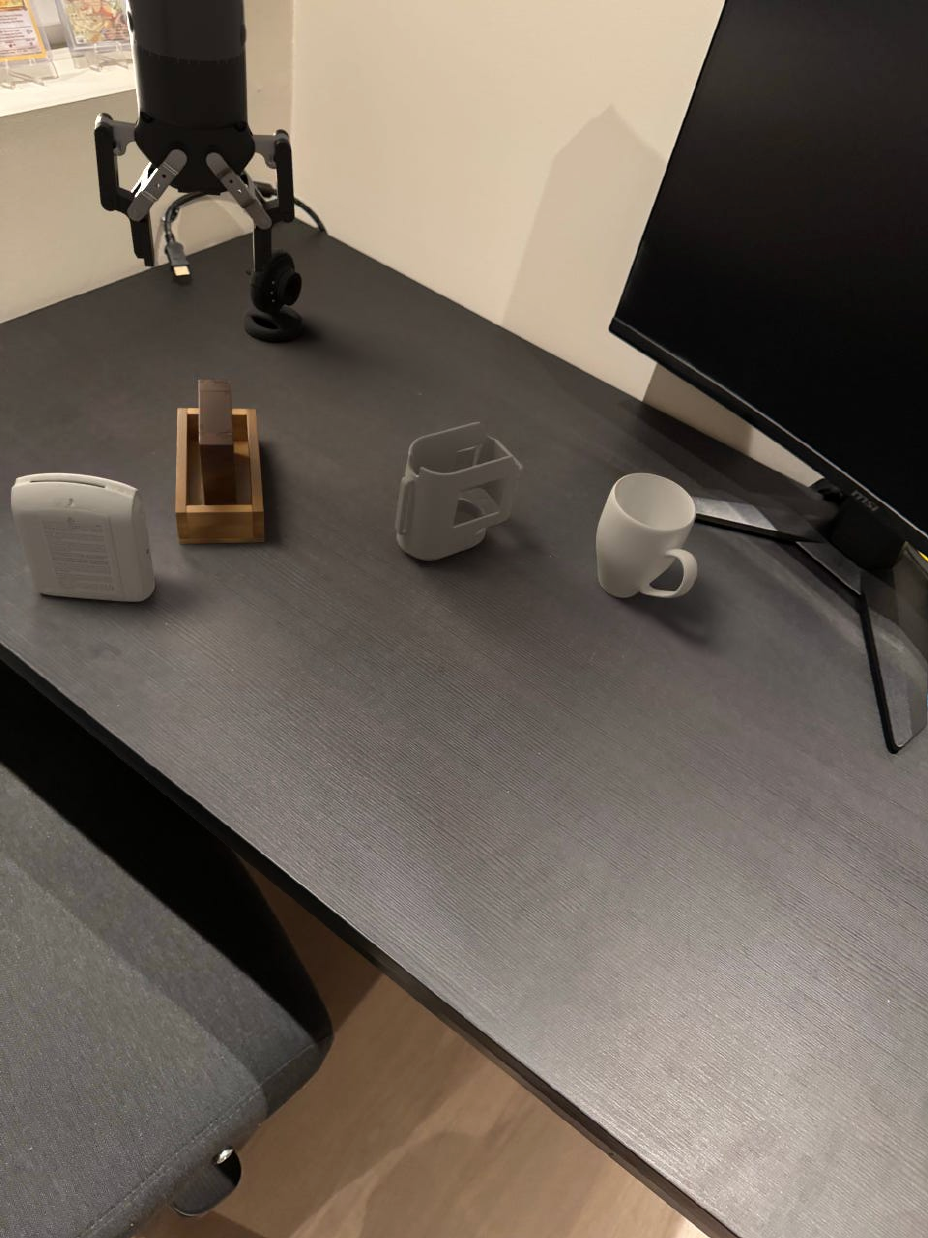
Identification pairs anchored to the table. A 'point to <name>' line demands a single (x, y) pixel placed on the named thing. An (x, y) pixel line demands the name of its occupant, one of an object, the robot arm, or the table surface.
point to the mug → (644, 535)
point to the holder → (190, 509)
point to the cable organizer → (452, 491)
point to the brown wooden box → (216, 442)
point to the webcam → (274, 298)
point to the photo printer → (83, 536)
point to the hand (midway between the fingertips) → (204, 264)
